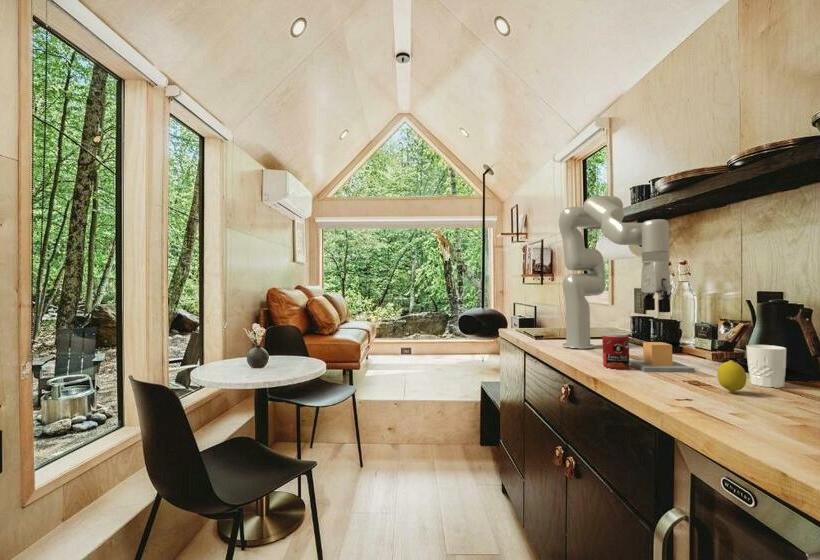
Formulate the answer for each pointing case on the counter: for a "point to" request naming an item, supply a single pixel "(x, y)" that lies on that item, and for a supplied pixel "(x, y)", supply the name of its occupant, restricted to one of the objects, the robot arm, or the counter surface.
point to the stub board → (660, 367)
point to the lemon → (731, 376)
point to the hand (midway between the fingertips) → (656, 311)
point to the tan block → (657, 353)
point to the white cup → (766, 365)
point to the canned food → (615, 350)
